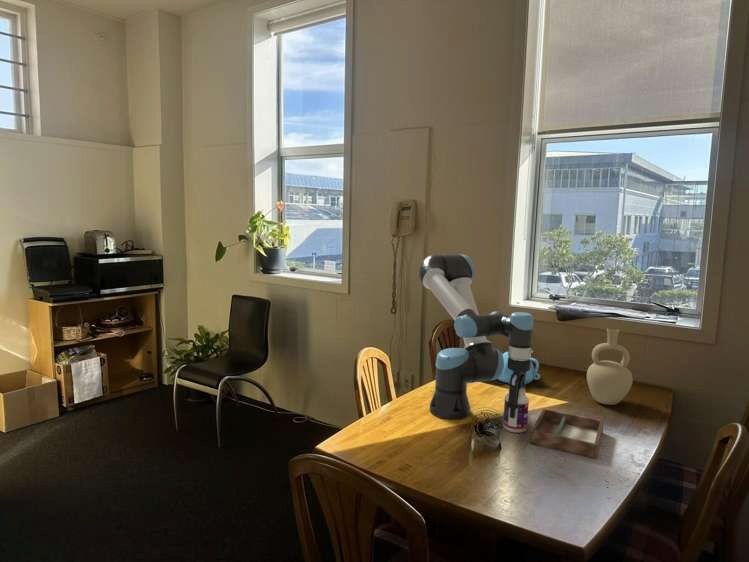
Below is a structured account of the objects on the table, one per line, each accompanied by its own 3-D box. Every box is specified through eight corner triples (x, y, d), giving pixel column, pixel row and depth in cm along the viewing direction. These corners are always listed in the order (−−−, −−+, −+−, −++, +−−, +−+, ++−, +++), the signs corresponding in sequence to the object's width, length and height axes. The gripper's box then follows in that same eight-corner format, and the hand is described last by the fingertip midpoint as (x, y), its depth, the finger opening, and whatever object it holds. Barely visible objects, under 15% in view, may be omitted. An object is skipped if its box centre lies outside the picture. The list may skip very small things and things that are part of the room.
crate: (529, 443, 165) (530, 430, 164) (542, 420, 184) (543, 408, 183) (596, 459, 155) (597, 445, 155) (602, 432, 174) (603, 420, 174)
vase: (588, 407, 198) (594, 332, 194) (581, 393, 214) (587, 323, 210) (635, 412, 194) (642, 336, 190) (624, 397, 210) (631, 326, 206)
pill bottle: (527, 435, 171) (530, 394, 169) (503, 432, 173) (505, 392, 171) (525, 425, 179) (528, 386, 177) (502, 423, 181) (504, 384, 179)
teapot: (523, 372, 241) (525, 343, 239) (544, 385, 222) (546, 355, 220) (485, 373, 237) (487, 345, 235) (503, 387, 219) (505, 356, 217)
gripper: (523, 367, 162) (519, 435, 165) (536, 352, 180) (532, 413, 183) (500, 363, 165) (496, 429, 168) (515, 349, 183) (511, 409, 186)
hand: (515, 421), depth 176 cm, fingers closed on pill bottle, 8 cm apart
